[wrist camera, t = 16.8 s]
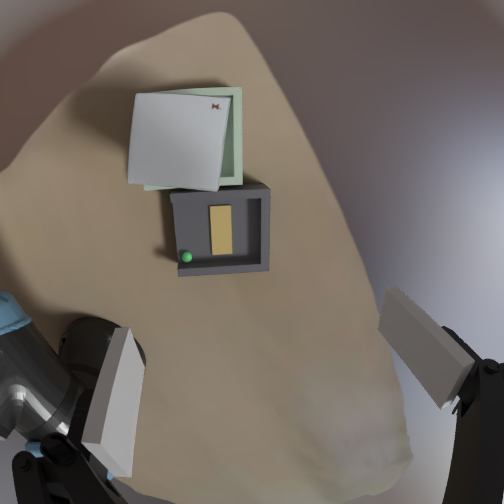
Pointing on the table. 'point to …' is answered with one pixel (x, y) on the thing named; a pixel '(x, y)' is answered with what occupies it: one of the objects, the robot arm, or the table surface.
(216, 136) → the supplement box
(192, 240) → the dark gray open-sided tray
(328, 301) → the table surface
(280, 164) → the table surface
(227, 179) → the trough tray
